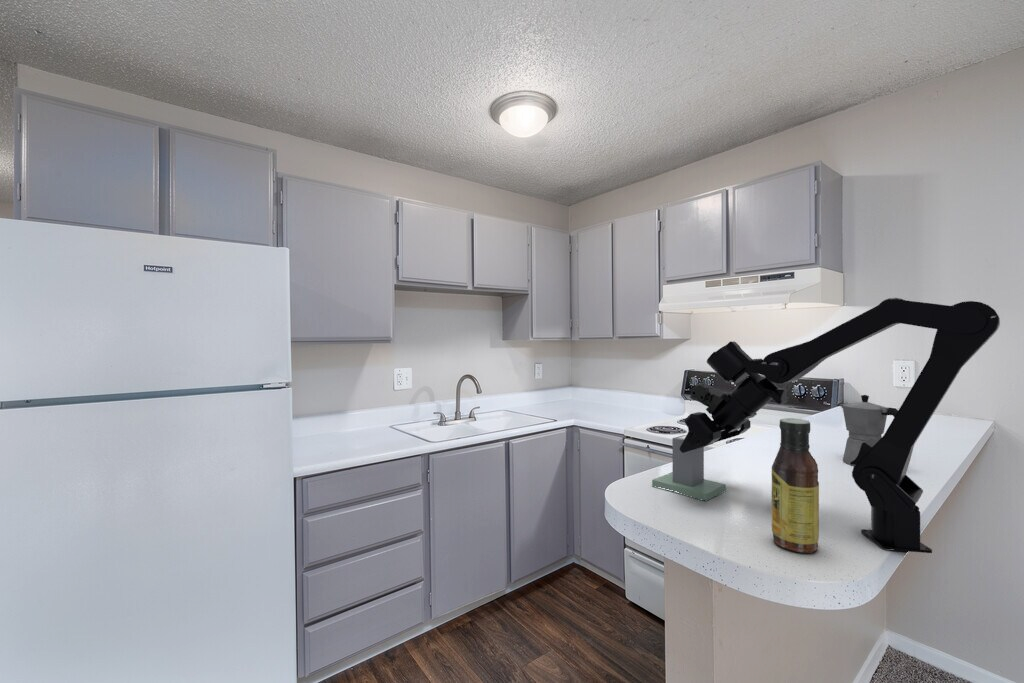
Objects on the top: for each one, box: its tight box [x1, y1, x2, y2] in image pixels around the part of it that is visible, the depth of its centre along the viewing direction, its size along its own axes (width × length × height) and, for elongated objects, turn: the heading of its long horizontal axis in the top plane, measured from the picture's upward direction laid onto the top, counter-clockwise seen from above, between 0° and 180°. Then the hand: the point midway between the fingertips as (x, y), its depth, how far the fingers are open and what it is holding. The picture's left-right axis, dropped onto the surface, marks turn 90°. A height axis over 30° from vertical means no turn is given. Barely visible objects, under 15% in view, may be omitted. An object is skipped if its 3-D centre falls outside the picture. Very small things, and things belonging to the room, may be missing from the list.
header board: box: [651, 471, 727, 502], centre depth 96 cm, size 12×9×4 cm
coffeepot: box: [839, 394, 899, 467], centre depth 113 cm, size 15×9×18 cm, turn 14°
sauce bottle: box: [771, 417, 820, 554], centre depth 69 cm, size 7×6×20 cm
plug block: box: [671, 434, 705, 487], centre depth 96 cm, size 4×5×10 cm
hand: (691, 447), depth 95 cm, fingers open, 9 cm apart
